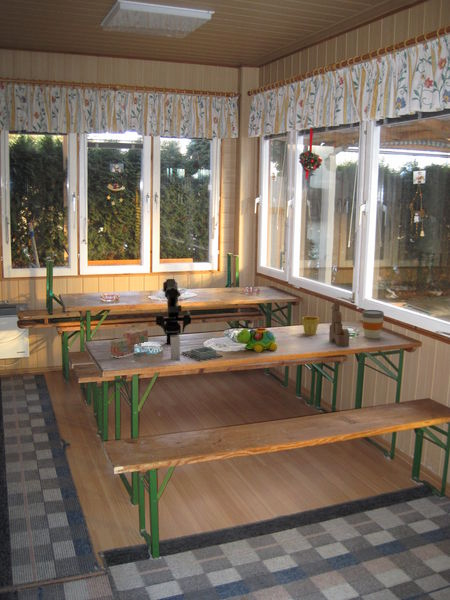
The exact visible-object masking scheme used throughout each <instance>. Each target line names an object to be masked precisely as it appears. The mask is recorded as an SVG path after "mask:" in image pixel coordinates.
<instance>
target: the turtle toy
mask: <svg viewBox="0 0 450 600" xmlns="http://www.w3.org/2000/svg"><path fill="white" fill-rule="evenodd" d="M236 340H237V341H238V342H239V343H240V344H242V345H244V344H245V349H246V348H247V350H254V352H256V353H261V352H263V350H266V349H268V350H270V351H276V350H277V349H278V345H277V343H276V340H277V338H276V337H275V335H274V332H273V331H270V330H268V329H267V328H266V327H258V328H256V329H253V328H252V329H250V330H248V329H244V328H243V329H242V330H241V331H239V332H238V333H237V336H236ZM246 344H247V345H246Z"/></svg>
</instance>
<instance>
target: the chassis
mask: <svg viewBox="0 0 450 600" xmlns="http://www.w3.org/2000/svg"><path fill="white" fill-rule="evenodd" d="M182 353H183V354H182ZM181 354H182V355H184V354H185V355H184V356H186V355H188V356H190V357H189V358H191V357H193V358H195V359H194V360H196V359H198V360H204V361H207V360H206V359H209V360H212V359H211V358H215V359H217V358H216V357H220V358H222V357H223V354H220V353H218V352H217V349H213V348H212V347H208V346H203V347H202V346H201V347H198V348H192V349H191V350H187V351H186V350H185V351H182V352H181ZM188 356H187V357H188ZM221 356H222V357H221ZM193 358H192V359H193ZM198 360H197V361H198Z"/></svg>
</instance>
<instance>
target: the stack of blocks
mask: <svg viewBox="0 0 450 600" xmlns="http://www.w3.org/2000/svg"><path fill="white" fill-rule="evenodd" d="M148 332H149V331H148V329H145V328H135V329H131V330H126V331H123V332H122V333H123V337H120V338H116V339H112V340H110V356H111V355H113V356H117V357H119V356H124V355H127V354H130V353H133V352H134V345H135V344H139V343H144V342H148V343H149V335H148V334H149V333H148Z"/></svg>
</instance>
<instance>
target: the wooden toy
mask: <svg viewBox="0 0 450 600" xmlns="http://www.w3.org/2000/svg"><path fill="white" fill-rule="evenodd" d="M340 302H341V301H340V300H334V303H333V305H332V306H331V310H332V312H331V316H332V317H331V324H330V325H329V333H328V335H329V336H328V341H329V342H330V343H335V345H336V346H337V347H339V348H340V347H350V331H349V329H348V328H347V327H343V322H342V315H343V314H342V312H341V310H340V304H341V303H340Z"/></svg>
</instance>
